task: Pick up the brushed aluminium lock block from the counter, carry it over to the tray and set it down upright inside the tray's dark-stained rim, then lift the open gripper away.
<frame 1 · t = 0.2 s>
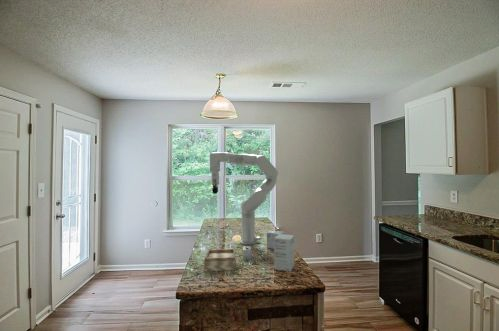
hand: (215, 192, 200), 37 cm above the countertop, tool pointing down, fingers open, 9 cm apart
lock block: (247, 257, 167), on the countertop
supplement box: (284, 267, 149), on the countertop
tray: (220, 265, 154), on the countertop
light bulb box: (275, 248, 186), on the countertop
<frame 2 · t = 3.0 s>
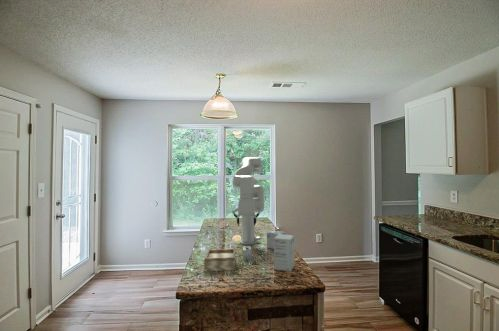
hand: (246, 224, 167), 20 cm above the countertop, tool pointing down, fingers open, 9 cm apart
nothing on the countertop moved.
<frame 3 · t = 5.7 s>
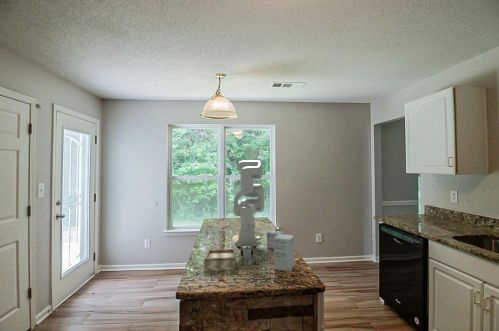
hand: (247, 256, 167), 1 cm above the countertop, tool pointing down, fingers closed on lock block, 5 cm apart
lock block: (247, 257, 167), on the countertop, touching gripper
everything else where it was.
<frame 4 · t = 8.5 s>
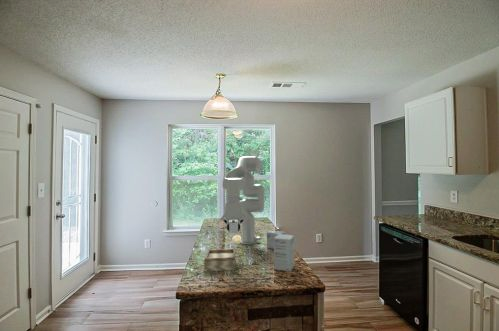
hand: (233, 230, 160), 18 cm above the countertop, tool pointing down, fingers closed on lock block, 5 cm apart
lock block: (233, 231, 160), point 17 cm above the countertop, touching gripper
everything else where it was.
when the fingers open (7 cm above the countertop, at t = 11.5 s): lock block drops 1 cm, resting on tray.
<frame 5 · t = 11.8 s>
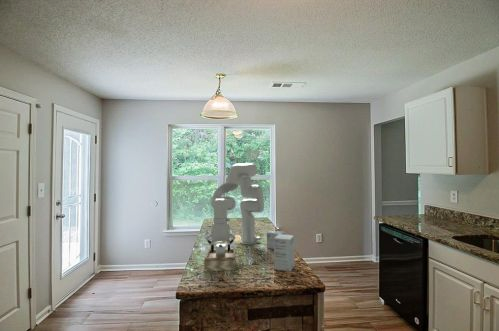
hand: (220, 251, 154), 8 cm above the countertop, tool pointing down, fingers open, 8 cm apart
lock block: (220, 256, 154), point 5 cm above the countertop, touching tray
everything else where it was.
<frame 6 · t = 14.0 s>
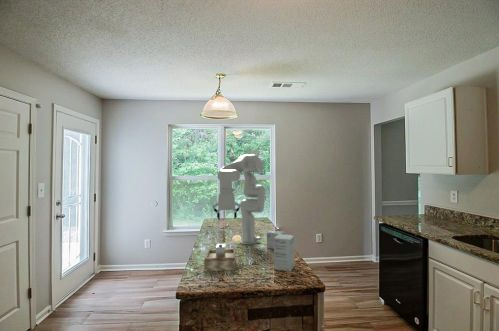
hand: (227, 219, 166), 24 cm above the countertop, tool pointing down, fingers open, 9 cm apart
nothing on the countertop moved.
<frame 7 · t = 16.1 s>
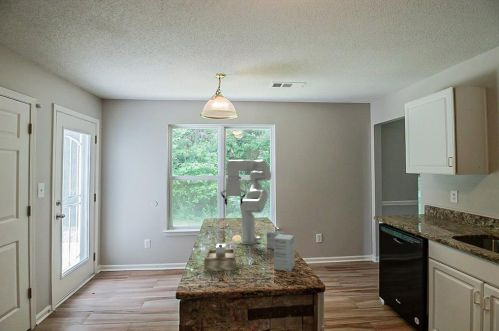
hand: (233, 204, 181), 30 cm above the countertop, tool pointing down, fingers open, 9 cm apart
nothing on the countertop moved.
at the end: lock block inside the target area on the tray (0.1 cm from its centre), point 5.0 cm above the tray's base; lock block tilted 0°; the gripper is holding nothing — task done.
